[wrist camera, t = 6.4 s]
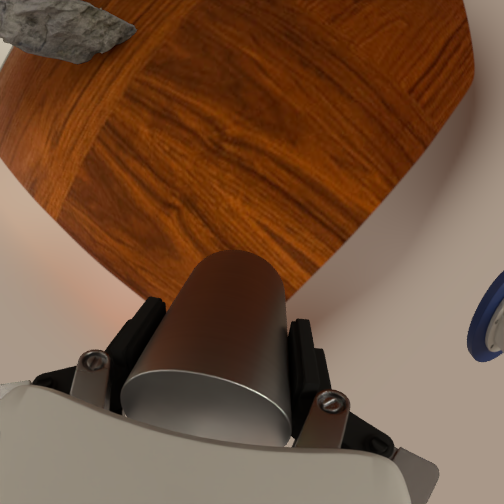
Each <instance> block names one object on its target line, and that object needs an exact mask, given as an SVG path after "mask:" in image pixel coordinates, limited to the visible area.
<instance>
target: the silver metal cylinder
mask: <svg viewBox="0 0 504 504" xmlns="http://www.w3.org/2000/svg"><path fill="white" fill-rule="evenodd" d="M120 398H121V405H122V408H123V410H124V412H125V414H126V416H127V417H128V418H130V419H133V420H137V421H140V422H143V423H146V424H150V425H153V426H157V427H161V428H164V429H168V430H172V431H176V432H180V433H185V434H189V435H194V436H199V437H204V438H210V439H215V440H221V441H228V442H235V443H242V444H251V445H261V446H274V447H284V446H285V445H286V444H287V442H288V441H289V439H290V437H291V434H292V415H291V390H290V370H289V351H288V335H287V319H286V305H285V291H284V286H283V283H282V280H281V278H280V276H279V274H278V273H277V271H276V270H275V269H274V268H273V266H272V265H271V264H269V263H268V262H267V261H266V260H264V259H263V258H261V257H259V256H257V255H255V254H253V253H250V252H247V251H242V250H224V251H219V252H216V253H213V254H211V255H209V256H207V257H206V258H204V259H203V260H202V261H201V262H200V263H198V265H197V266H196V267H195V268H194V270H193V272H192V273H191V275H190V276H189V278H188V279H187V281H186V282H185V284H184V286H183V287H182V289H181V290H180V292H179V293H178V295H177V297H176V298H175V300H174V301H173V303H172V305H171V306H170V308H169V309H168V311H167V313H166V314H165V316H164V318H163V319H162V321H161V322H160V324H159V326H158V327H157V329H156V331H155V332H154V334H153V336H152V337H151V339H150V341H149V342H148V344H147V346H146V347H145V349H144V351H143V352H142V354H141V356H140V358H139V359H138V361H137V363H136V364H135V366H134V368H133V370H132V371H131V373H130V375H129V377H128V378H127V380H126V382H125V384H124V385H123V388H122V390H121V395H120Z"/></svg>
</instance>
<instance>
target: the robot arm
mask: <svg viewBox="0 0 504 504" xmlns="http://www.w3.org/2000/svg"><path fill="white" fill-rule="evenodd" d="M165 314H166V305H165V302H162V299H161V298H156V297H149V298H148V299H147V300H146V301H145V303H144V304H143V305H142V306H141V308H140V309H139V310H138V312H137V313H136V314H135V316H134V317H133V318H132V319H130V320H128V321H127V322H126V323H125V325H124V326H123V327H122V329H121V330H120V331H119V333H118V334H117V335H116V337H115V338H114V339H113V340H112V342H111V343H110V344H109V346H108V347H107V349H106V350H105V351H102V350H90V351H87V352H85V353H83V354H82V355H81V356H80V358H79V361H78V364H77V366H74V367H69V368H65V369H61V370H57V371H52V372H48V373H44V374H41V375H39V376H37V377H36V378H35V380H34V381H33V383H31V381H30V380H28V381H22V382H15V383H8V384H1V385H0V504H426V503H427V501H428V499H429V497H430V495H431V493H432V491H433V489H434V487H435V485H436V483H437V481H438V478H439V469H438V468H437V466H436V465H435V464H433V463H432V462H429V461H427V460H425V459H423V458H421V457H419V456H417V455H415V454H413V453H411V452H409V451H407V450H405V449H403V448H402V447H400V448H399V449H397V448H396V447H394V443H393V441H392V439H391V438H390V437H389V436H388V435H386V434H385V433H383V432H381V431H380V430H378V429H377V428H375V427H373V426H372V425H370V424H368V423H367V422H365V421H364V420H362V419H360V418H359V417H358V416H356V415H354V414H353V413H351V412H350V401H349V399H348V398H347V397H346V395H344V394H343V393H342V392H339V391H337V390H332V389H331V384H330V379H329V373H328V369H327V364H326V359H325V354H324V351H323V349H318V348H314V343H313V337H312V332H311V327H310V322H309V320H307V319H296V321H292V322H291V326H290V330H289V334H288V351H289V370H290V390H291V415H292V434H291V436H292V437H293V438H294V439H295V441H294V443H293V445H292V447H291V448H290V447H274V446H261V445H251V444H242V443H235V442H228V441H221V440H215V439H210V438H204V437H199V436H194V435H189V434H185V433H180V432H176V431H172V430H168V429H164V428H161V427H157V426H153V425H150V424H146V423H143V422H140V421H137V420H133V419H130V418H127V417H125V412H124V410H123V408H122V405H121V398H120V395H121V390H122V388H123V385H124V384H125V382H126V380H127V378H128V377H129V375H130V373H131V371H132V370H133V368H134V366H135V364H136V363H137V361H138V359H139V358H140V356H141V354H142V352H143V351H144V349H145V347H146V346H147V344H148V342H149V341H150V339H151V337H152V336H153V334H154V332H155V331H156V329H157V327H158V326H159V324H160V322H161V321H162V319H163V318H164V316H165ZM485 344H486V347H487V348H488V349H489V350H490V351H491V352H498V351H500V350H502V352H503V353H504V299H503V300H502V301H501V303H500V304H499V306H498V307H497V309H496V311H495V312H494V314H493V316H492V318H491V320H490V323H489V325H488V328H487V331H486V336H485Z"/></svg>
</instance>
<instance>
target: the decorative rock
mask: <svg viewBox="0 0 504 504" xmlns="http://www.w3.org/2000/svg"><path fill="white" fill-rule="evenodd" d="M135 32H136V29H135V26H134V25H132V24H129V23H127V22H125V21H124V20H121V19H119V18H117V17H116V16H114V15H112V14H110V13H109V12H107V11H104V10H101V9H98V8H96V7H94V6H93V5H91V4H90V3H87V2H84V1H81V0H0V38H3V41H4V42H5V43H10V44H12V45H14V46H16V47H18V48H19V49H21V50H23V51H24V52H27V53H31V54H35V55H39V56H44V57H49V58H55V59H60V60H65V61H68V62H72V63H75V64H82V63H84V62H88V61H89V60H90V59H91V58H92V57H93V55H95V54H96V53H104V52H107V51H109V50H110V49H112V48H113V47H114V46H115V45H117V44H121V43H122V42H125V41H126V40H128V39H129V38H130V37H131V36H132V35H134V34H135Z"/></svg>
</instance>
